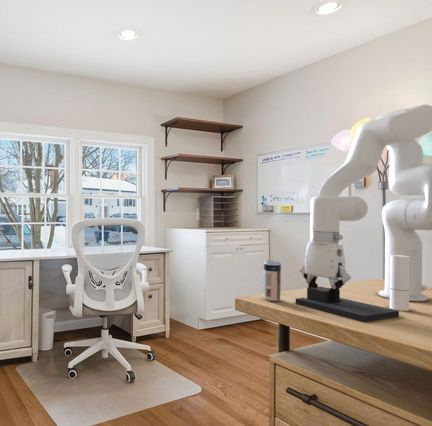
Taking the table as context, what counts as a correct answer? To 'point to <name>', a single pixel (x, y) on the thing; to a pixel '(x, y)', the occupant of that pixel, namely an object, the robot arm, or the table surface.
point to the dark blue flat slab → (351, 309)
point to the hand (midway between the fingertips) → (323, 298)
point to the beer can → (272, 280)
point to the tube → (399, 282)
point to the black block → (319, 294)
